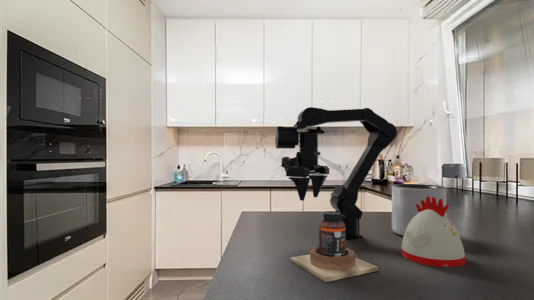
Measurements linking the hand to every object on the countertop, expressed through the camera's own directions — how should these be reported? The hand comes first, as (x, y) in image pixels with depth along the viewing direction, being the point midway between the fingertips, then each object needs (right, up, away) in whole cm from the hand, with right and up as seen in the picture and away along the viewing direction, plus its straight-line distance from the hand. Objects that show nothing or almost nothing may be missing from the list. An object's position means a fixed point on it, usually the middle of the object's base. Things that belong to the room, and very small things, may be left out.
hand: (309, 198), depth 95 cm
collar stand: (+2, -11, -25) cm, 27 cm away
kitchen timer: (+28, -12, -19) cm, 36 cm away
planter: (+36, -12, +4) cm, 38 cm away
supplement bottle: (+2, -11, -25) cm, 27 cm away
